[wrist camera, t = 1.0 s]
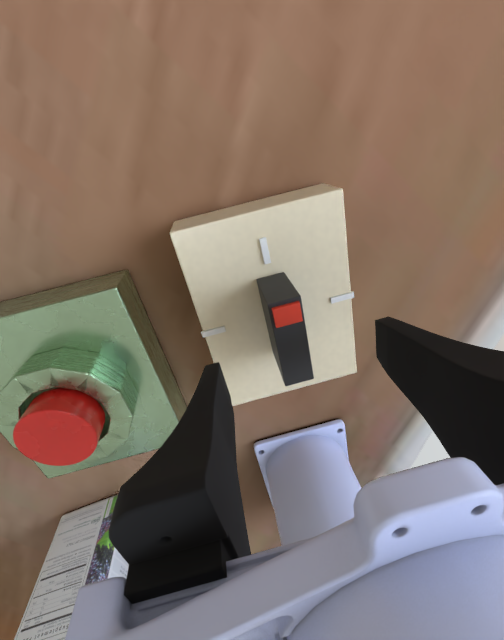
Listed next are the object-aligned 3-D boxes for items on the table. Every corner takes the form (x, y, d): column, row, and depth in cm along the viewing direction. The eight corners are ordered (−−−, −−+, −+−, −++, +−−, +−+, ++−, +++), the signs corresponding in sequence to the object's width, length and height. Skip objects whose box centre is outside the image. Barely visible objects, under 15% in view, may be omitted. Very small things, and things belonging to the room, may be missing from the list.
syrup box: (151, 525, 31) (116, 784, 18) (94, 545, 31) (22, 815, 19) (119, 491, 28) (54, 769, 16) (58, 514, 29) (-56, 805, 16)
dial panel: (341, 348, 25) (359, 373, 22) (224, 380, 24) (227, 409, 22) (324, 182, 19) (346, 187, 16) (171, 221, 19) (166, 234, 16)
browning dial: (297, 345, 20) (315, 382, 17) (272, 351, 20) (286, 389, 17) (284, 271, 18) (302, 297, 15) (255, 278, 18) (268, 306, 15)
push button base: (189, 411, 25) (186, 465, 21) (63, 444, 25) (34, 507, 21) (127, 268, 20) (107, 303, 15) (-36, 311, 19) (-105, 358, 15)
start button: (117, 430, 19) (110, 454, 18) (51, 448, 19) (38, 474, 18) (86, 379, 17) (75, 401, 16) (13, 399, 17) (-6, 423, 16)
